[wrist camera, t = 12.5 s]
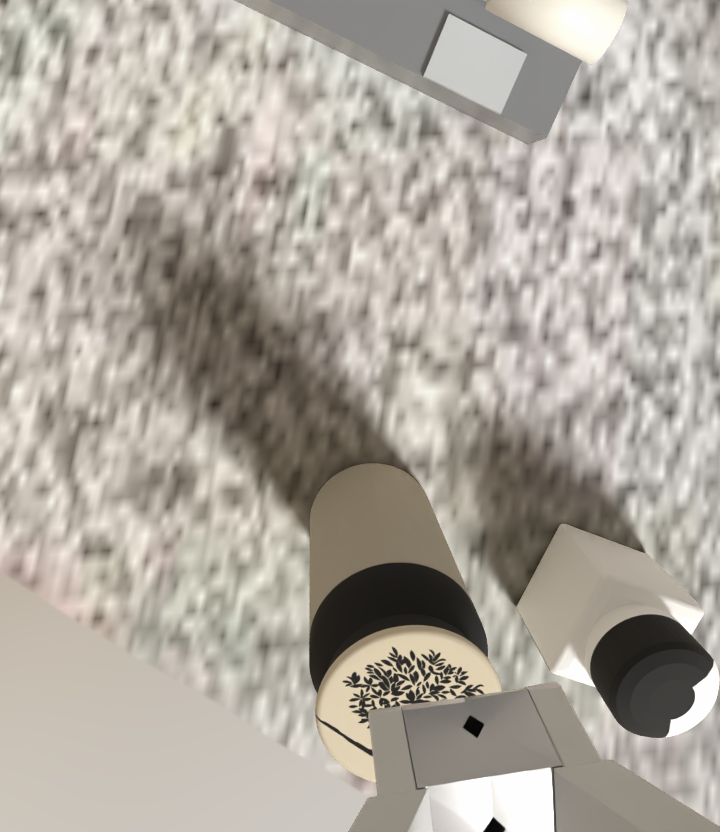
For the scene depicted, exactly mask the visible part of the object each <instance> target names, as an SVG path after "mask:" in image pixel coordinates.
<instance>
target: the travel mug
mask: <svg viewBox="0 0 720 832" xmlns="http://www.w3.org/2000/svg"><path fill="white" fill-rule="evenodd" d="M487 657H488V645H487V638H486V634H485V631H484V628H483V626H482V623H481V621H480V619H479V616H478V614H477V612H476V609H475V607H474V605H473V602H472V600H471V598H470V595H469V593H468V591H467V588H466V586H465V584H464V581H463V579H462V577H461V574H460V572H459V570H458V567H457V565H456V563H455V560H454V558H453V556H452V553H451V551H450V549H449V546H448V544H447V542H446V539H445V537H444V535H443V532H442V530H441V528H440V525H439V523H438V521H437V518H436V516H435V514H434V511H433V509H432V507H431V504H430V502H429V500H428V497H427V495H426V493H425V491H424V490H423V488H422V487H421V485H420V484H419V483H418V482H417V481H416V480H415V479H414V478H413V477H412V476H410V475H409V474H408V473H406V472H404V471H403V470H401V469H399V468H396V467H394V466H390V465H386V464H379V463H367V464H360V465H356V466H352V467H349V468H347V469H345V470H343V471H341V472H339V473H337V474H336V475H334V476H333V477H332V478H330V479H329V480H328V481H327V482H326V483H325V484H324V485H323V487H322V488H321V489H320V491H319V492H318V494H317V496H316V497H315V500H314V502H313V505H312V508H311V513H310V642H309V666H310V674H311V678H312V682H313V685H314V687H315V690H316V692H317V699H316V708H315V715H316V723H317V728H318V732H319V735H320V737H321V739H322V742H323V744H324V745H325V747H326V749H327V750H328V752H329V753H330V754H331V756H332V757H333V758H334V759H335V760H336V761H337V762H338V763H339V764H341V765H342V766H343V767H344V768H346V769H347V770H348V771H350V772H352V773H353V774H355V775H357V776H359V777H361V778H364V779H366V780H369V781H372V782H376V778H375V770H374V761H373V752H372V744H371V735H370V727H369V718H368V716H369V710H374V709H382V708H390V707H398V706H399V707H400V708H401V705H409V704H416V703H424V702H432V701H440V700H448V699H456V698H464V697H470V696H476V695H483V694H489V693H495V692H501V687H500V682H499V679H498V676H497V674H496V671H495V669H494V667H493V666H492V664H491V662H490V661H489V659H488V658H487Z"/></svg>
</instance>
